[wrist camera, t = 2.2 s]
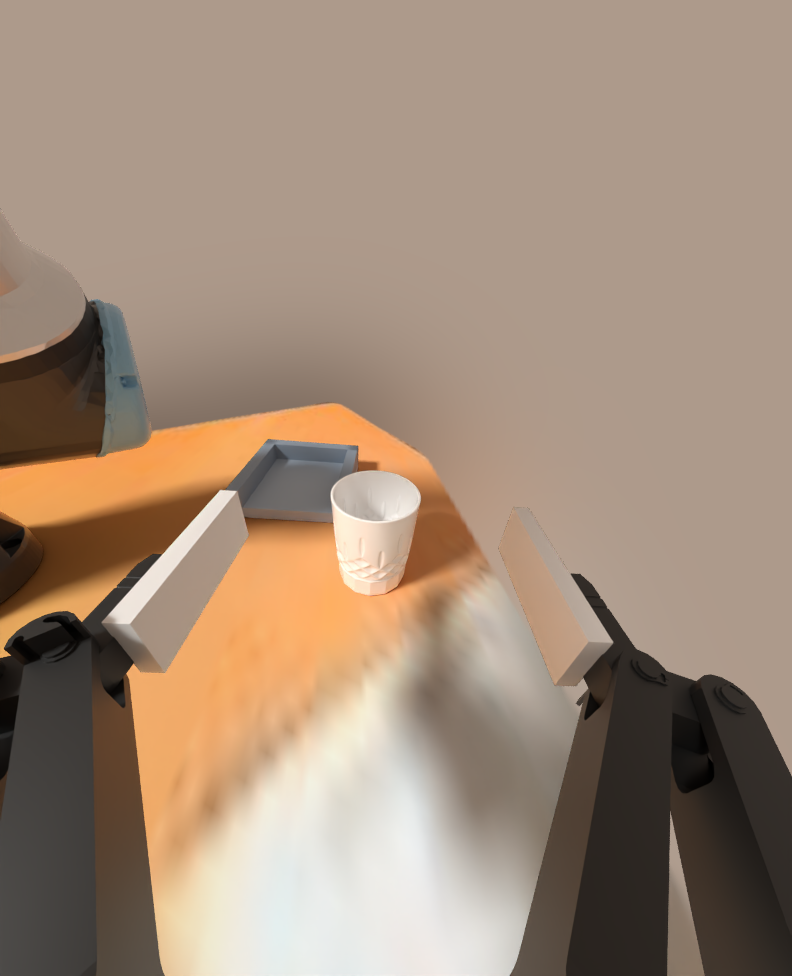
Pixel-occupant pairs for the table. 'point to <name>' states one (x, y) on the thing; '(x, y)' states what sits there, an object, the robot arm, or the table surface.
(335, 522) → the white cup
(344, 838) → the table surface
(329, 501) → the dock
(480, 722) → the table surface
